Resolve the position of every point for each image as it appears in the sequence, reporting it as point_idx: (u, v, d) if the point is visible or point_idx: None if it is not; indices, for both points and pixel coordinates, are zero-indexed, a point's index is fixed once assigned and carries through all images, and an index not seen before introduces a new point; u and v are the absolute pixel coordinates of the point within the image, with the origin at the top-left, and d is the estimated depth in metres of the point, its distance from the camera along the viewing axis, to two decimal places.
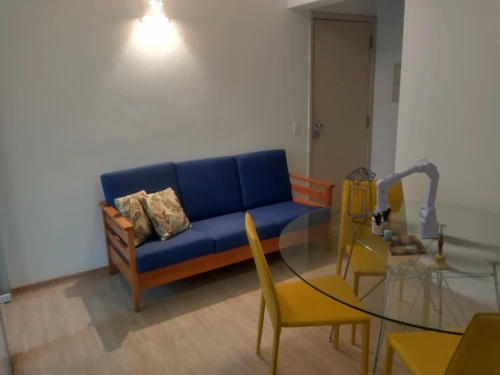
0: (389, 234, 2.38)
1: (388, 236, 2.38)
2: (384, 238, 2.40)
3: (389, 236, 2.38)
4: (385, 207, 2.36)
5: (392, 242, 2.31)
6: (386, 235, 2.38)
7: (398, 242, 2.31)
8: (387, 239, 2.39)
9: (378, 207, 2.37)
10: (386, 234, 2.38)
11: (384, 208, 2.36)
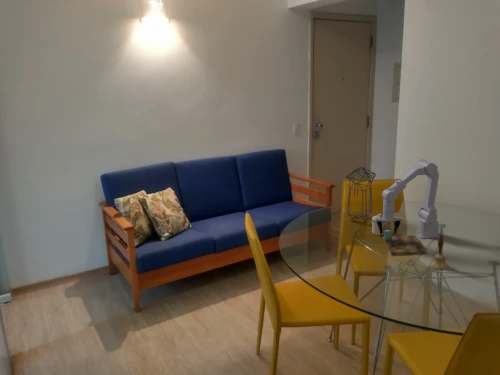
0: (389, 234, 2.38)
1: (388, 236, 2.38)
2: (384, 238, 2.40)
3: (389, 236, 2.38)
4: (387, 218, 2.34)
5: (392, 242, 2.31)
6: (387, 235, 2.38)
7: (398, 242, 2.31)
8: (387, 239, 2.39)
9: (383, 216, 2.37)
10: (386, 234, 2.38)
11: (386, 219, 2.35)
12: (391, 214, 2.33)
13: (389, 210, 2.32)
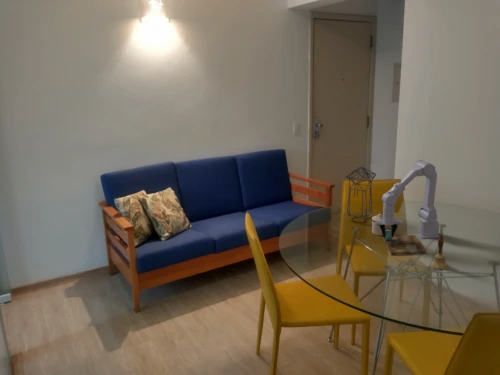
0: (389, 234, 2.38)
1: (388, 236, 2.38)
2: (384, 238, 2.40)
3: (389, 236, 2.38)
4: (387, 221, 2.35)
5: (392, 242, 2.31)
6: (386, 235, 2.38)
7: (398, 242, 2.31)
8: (387, 239, 2.39)
9: (383, 220, 2.38)
10: (386, 234, 2.38)
11: (386, 222, 2.35)
12: (391, 217, 2.34)
13: (389, 214, 2.33)
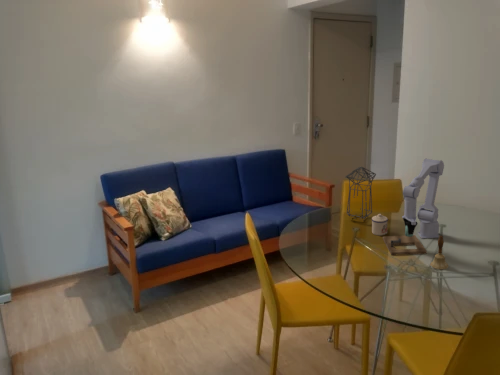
0: None
1: None
2: (410, 235, 2.27)
3: None
4: (415, 214, 2.25)
5: (392, 242, 2.31)
6: None
7: (398, 242, 2.31)
8: None
9: (410, 216, 2.23)
10: None
11: (415, 216, 2.24)
12: None
13: (414, 207, 2.22)
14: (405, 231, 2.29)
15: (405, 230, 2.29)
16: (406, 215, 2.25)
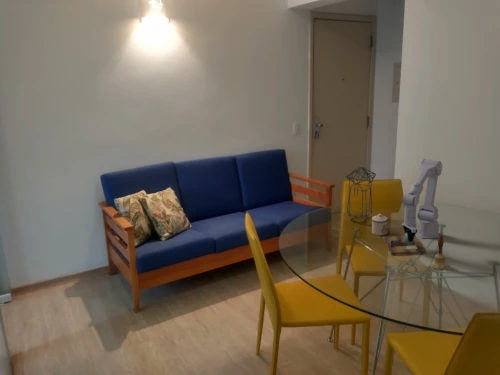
0: None
1: None
2: (410, 242, 2.29)
3: None
4: (415, 222, 2.26)
5: (392, 242, 2.31)
6: None
7: (398, 242, 2.31)
8: None
9: (410, 224, 2.25)
10: None
11: (415, 223, 2.26)
12: None
13: (414, 215, 2.23)
14: (405, 238, 2.30)
15: (405, 237, 2.30)
16: (406, 223, 2.26)
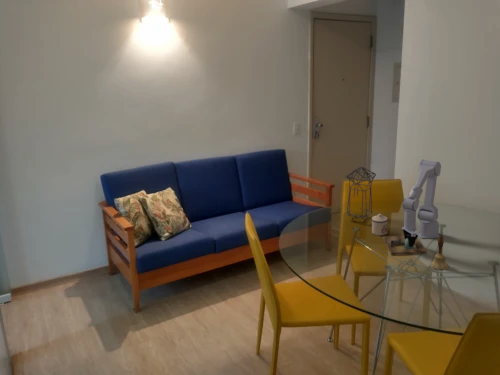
0: None
1: None
2: (410, 248, 2.30)
3: None
4: (415, 226, 2.27)
5: (392, 242, 2.31)
6: None
7: (398, 242, 2.31)
8: (412, 247, 2.31)
9: (410, 228, 2.25)
10: None
11: (415, 227, 2.26)
12: None
13: (414, 219, 2.24)
14: (405, 244, 2.31)
15: (405, 243, 2.31)
16: (406, 227, 2.27)
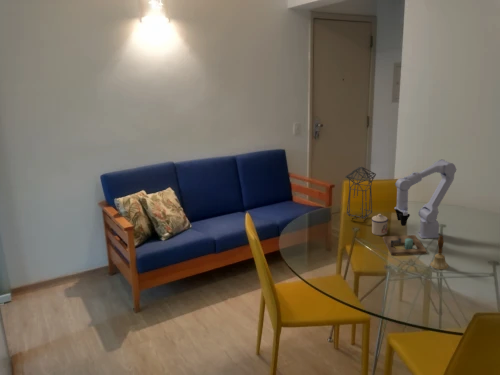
0: None
1: (412, 243, 2.31)
2: (410, 248, 2.30)
3: None
4: (407, 206, 2.36)
5: (392, 242, 2.31)
6: (412, 243, 2.30)
7: (398, 242, 2.31)
8: (412, 247, 2.31)
9: (402, 207, 2.35)
10: (412, 242, 2.30)
11: (407, 207, 2.36)
12: None
13: (403, 199, 2.33)
14: (405, 244, 2.31)
15: (405, 243, 2.31)
16: (398, 206, 2.36)
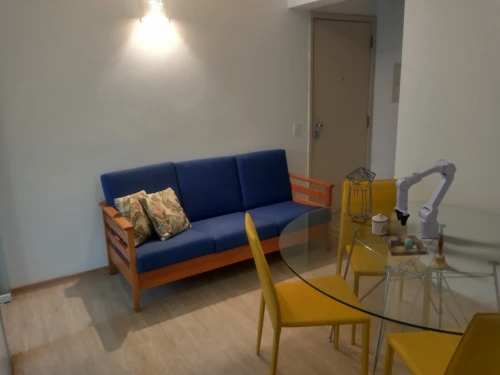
0: None
1: (412, 243, 2.31)
2: (410, 248, 2.30)
3: None
4: (407, 206, 2.36)
5: (392, 242, 2.31)
6: (412, 243, 2.30)
7: (398, 242, 2.31)
8: (412, 247, 2.31)
9: (402, 207, 2.35)
10: (412, 242, 2.30)
11: (407, 207, 2.36)
12: None
13: (403, 199, 2.33)
14: (405, 244, 2.31)
15: (405, 243, 2.31)
16: (398, 206, 2.36)
